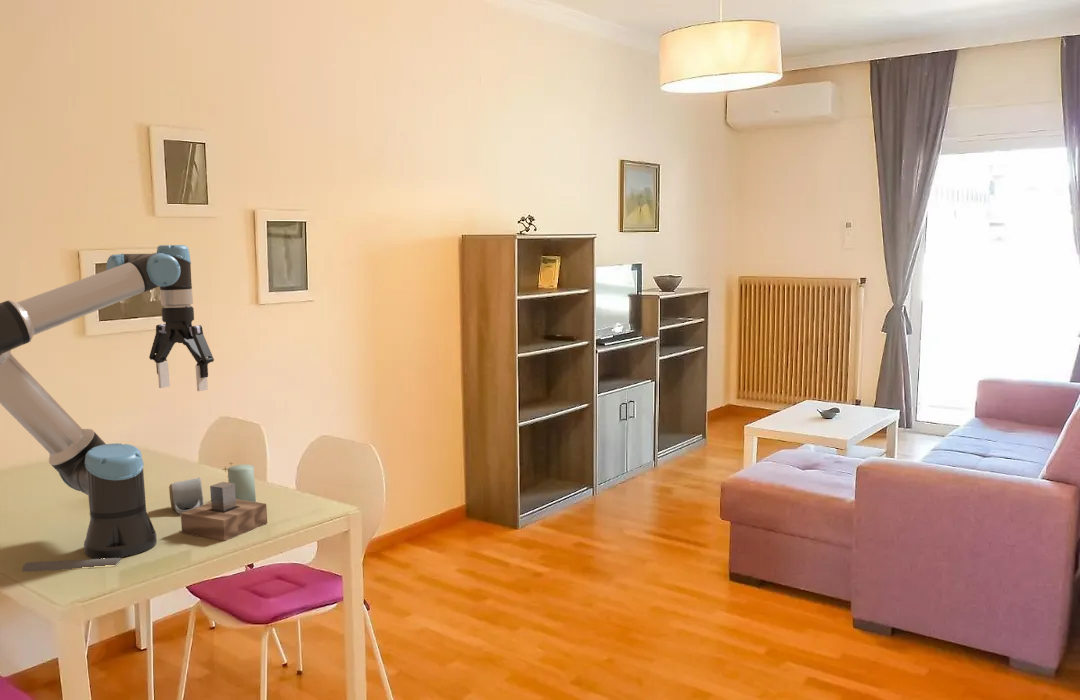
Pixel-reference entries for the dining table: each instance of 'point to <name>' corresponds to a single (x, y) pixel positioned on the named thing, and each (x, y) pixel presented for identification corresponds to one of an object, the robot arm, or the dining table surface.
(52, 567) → the half round rod
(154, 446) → the dining table surface
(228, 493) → the square peg
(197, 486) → the ceramic mug
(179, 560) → the dining table surface
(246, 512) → the socket block
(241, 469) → the round peg
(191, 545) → the dining table surface
